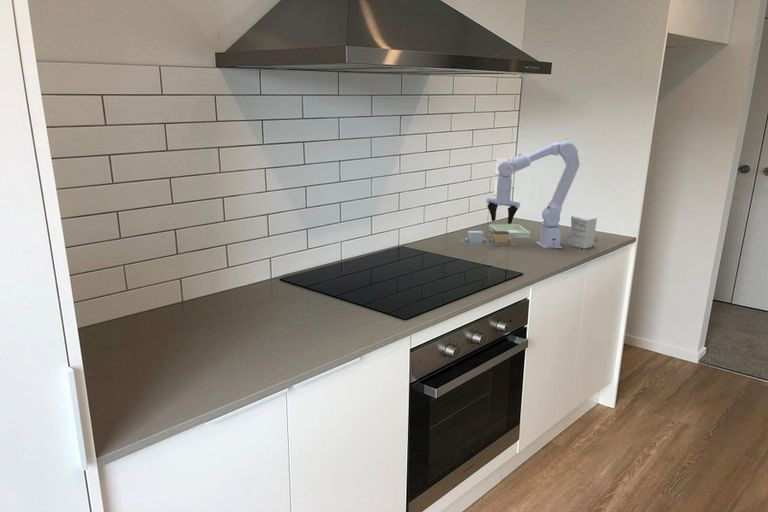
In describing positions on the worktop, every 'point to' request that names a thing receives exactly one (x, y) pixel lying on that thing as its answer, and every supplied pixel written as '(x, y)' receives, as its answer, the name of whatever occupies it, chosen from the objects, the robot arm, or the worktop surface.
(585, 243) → the supplement box
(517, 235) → the parts tray
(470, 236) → the fuse
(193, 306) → the worktop surface
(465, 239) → the fuse board
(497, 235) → the block
